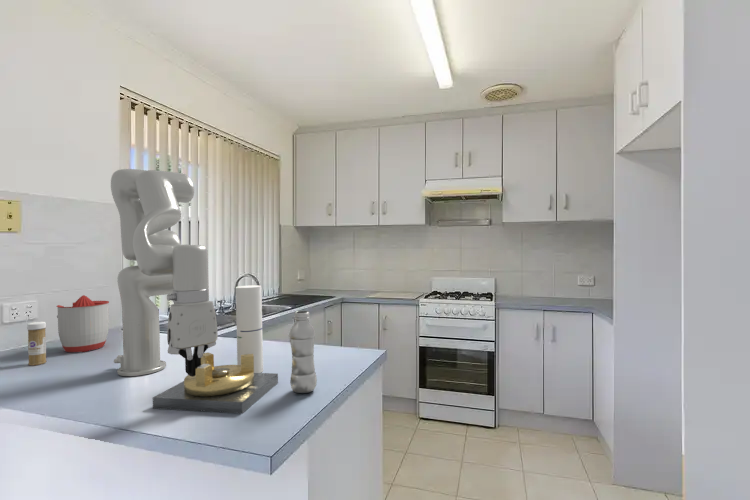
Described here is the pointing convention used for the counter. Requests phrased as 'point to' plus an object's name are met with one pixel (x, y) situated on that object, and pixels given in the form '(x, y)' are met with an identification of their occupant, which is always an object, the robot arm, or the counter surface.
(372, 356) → the counter surface
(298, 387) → the plastic bottle
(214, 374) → the gold tabbed disc
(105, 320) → the citrus juicer
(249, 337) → the cylindrical container
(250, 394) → the base plate
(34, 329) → the sprinkles bottle
